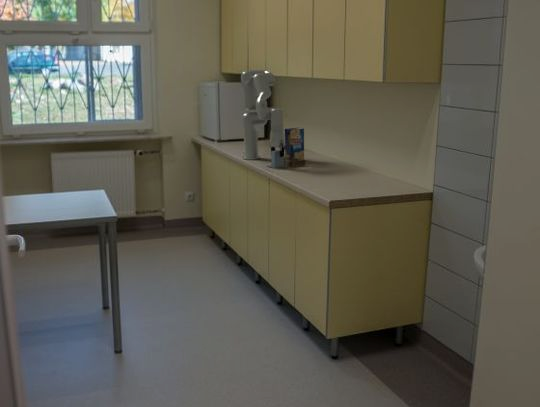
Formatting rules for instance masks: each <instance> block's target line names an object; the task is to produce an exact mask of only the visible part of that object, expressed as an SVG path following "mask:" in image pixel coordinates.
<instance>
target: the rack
mask: <svg viewBox="0 0 540 407" xmlns="http://www.w3.org/2000/svg"><path fill="white" fill-rule="evenodd" d="M290 160H291V161H286V160H284V166H286V167H289V168H297V167H296V166H298V167H302V166H303V167H304V165H305V166H306V160H305V159H304V160H303V159H298V158H293V157H290Z"/></svg>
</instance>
